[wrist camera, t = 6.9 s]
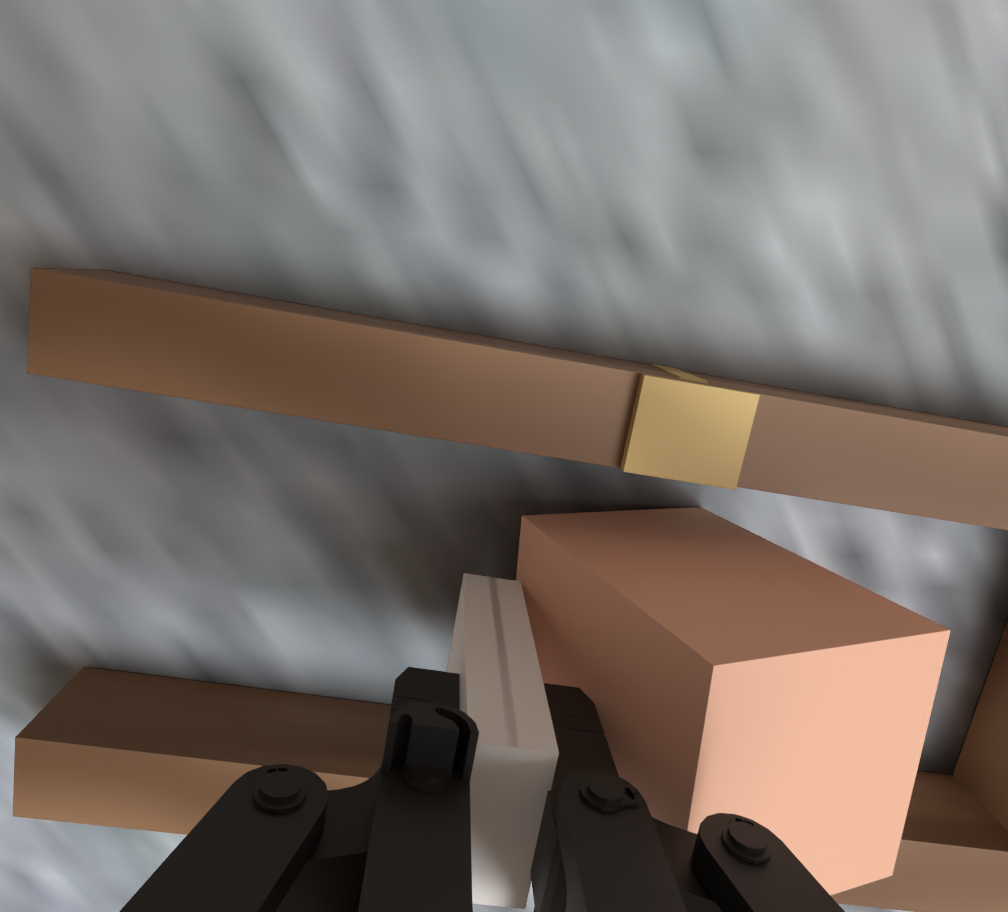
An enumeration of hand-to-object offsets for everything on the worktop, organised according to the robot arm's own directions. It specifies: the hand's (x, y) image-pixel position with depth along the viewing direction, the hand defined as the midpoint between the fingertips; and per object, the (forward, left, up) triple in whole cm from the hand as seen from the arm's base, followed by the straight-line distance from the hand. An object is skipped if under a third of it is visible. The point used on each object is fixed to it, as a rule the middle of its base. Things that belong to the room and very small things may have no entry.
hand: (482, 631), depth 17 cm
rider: (-1, +3, -1) cm, 3 cm away
